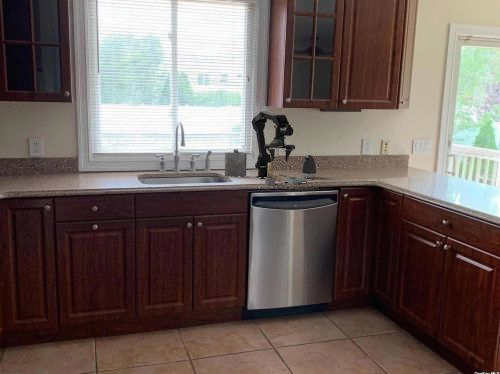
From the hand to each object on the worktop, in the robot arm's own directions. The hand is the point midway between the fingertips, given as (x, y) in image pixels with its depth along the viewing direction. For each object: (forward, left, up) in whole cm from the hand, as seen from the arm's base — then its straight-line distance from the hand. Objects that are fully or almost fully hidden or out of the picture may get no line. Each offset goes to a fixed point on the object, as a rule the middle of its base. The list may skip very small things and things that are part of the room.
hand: (279, 160), depth 311 cm
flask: (-32, -12, -14) cm, 37 cm away
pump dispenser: (-3, +27, -14) cm, 31 cm away
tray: (+6, +7, -13) cm, 16 cm away
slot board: (-6, +7, -13) cm, 17 cm away
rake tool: (+4, -10, -13) cm, 17 cm away
